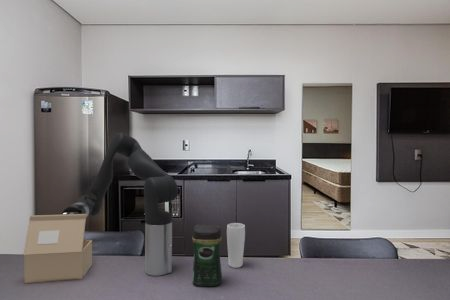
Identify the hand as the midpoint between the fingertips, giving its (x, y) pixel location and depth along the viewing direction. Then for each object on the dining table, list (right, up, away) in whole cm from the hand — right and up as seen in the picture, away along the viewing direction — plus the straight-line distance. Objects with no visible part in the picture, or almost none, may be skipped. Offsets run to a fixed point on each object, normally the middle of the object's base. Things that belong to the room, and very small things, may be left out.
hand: (58, 224), depth 95 cm
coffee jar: (+50, -18, -2) cm, 53 cm away
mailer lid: (0, -3, -1) cm, 3 cm away
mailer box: (-1, -17, +3) cm, 18 cm away
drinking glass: (+60, -18, +11) cm, 63 cm away
